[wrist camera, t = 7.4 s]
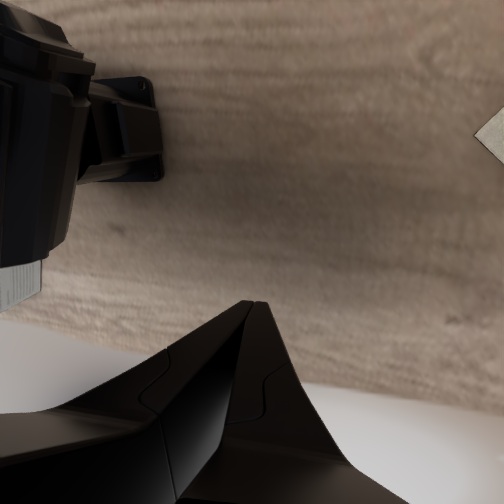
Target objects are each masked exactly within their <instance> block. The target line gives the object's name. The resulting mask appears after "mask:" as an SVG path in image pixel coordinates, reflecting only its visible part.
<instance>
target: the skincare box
mask: <svg viewBox="0 0 504 504" xmlns="http://www.w3.org/2000/svg"><path fill="white" fill-rule="evenodd" d="M40 267H41V260H39V261H36V262H33V263H30V264H26V265H20V266H15V267H9V268H3V269H0V313H2V312H4V311H5V310H7V309H9V308H11V307H13V306H14V305H16V304H18V303H20V302H22V301H23V300H25V299H27V298H29V297H31V296H32V295H34V294H36V293H38V292H39V291H40Z"/></svg>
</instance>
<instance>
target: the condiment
mask: <svg viewBox="0 0 504 504" xmlns="http://www.w3.org/2000/svg"><path fill="white" fill-rule="evenodd" d="M474 136H475V137H476V138H477V139H478V140H479V141H481V142H482V143H483V144H484V145H485V146H486V147H487V148H488V149H489V150H490V151H491V152H492V153H493V154H494V155H495V156H496V157H497V158H498V159H499V160H500V161H501V162H502V163H503V164H504V107H503V108H502V109H501V110H500V111H499V112H498V113H497V114H496V115H495V116H494V117H493V118H491V119H490V120H489V121H488V122H487V123H486V124H485V125H484V126H483V127H482V128H481V129H480V130H479V131H478V132H477V133H476V134H475V135H474Z"/></svg>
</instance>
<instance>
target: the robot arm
mask: <svg viewBox="0 0 504 504" xmlns="http://www.w3.org/2000/svg"><path fill="white" fill-rule="evenodd" d="M95 66H96V63H95V62H93V61H91V60H89V59H87V58H85V57H84V53H82V52H81V51H79V50H77V49H75V48H73V47H72V46H71V45H69V43H68V41H67V39H66V37H65V35H64V33H63V31H62V28H61V27H60V26H58V25H56V24H54V23H52V22H50V21H48V20H46V19H44V18H42V17H39V16H37V15H35V14H33V13H31V12H28V11H26V10H24V9H22V8H19V7H17V6H15V5H12V4H10V3H7V2H5V1H2V0H0V269H3V268H9V267H15V266H20V265H26V264H30V263H33V262H36V261H39V260H42V259H45V258H47V257H48V256H49V251H50V250H53V249H54V248H55V247H56V246H58V245H59V244H60V243H62V242H63V241H64V240H65V237H66V234H67V232H68V227H69V222H70V216H71V211H72V205H73V200H74V194H75V188H76V185H79V184H85V183H90V182H156V181H160V180H162V179H163V177H164V170H163V162H162V155H161V153H162V151H163V146H162V139H161V131H160V124H159V116H158V111H157V110H156V109H155V103H154V96H153V89H152V84H151V82H150V80H149V79H147V78H145V77H142V76H137V77H125V78H114V79H102V80H91V75H94V71H95ZM143 82H144V83H145V89H142V87H141V85H142V83H143ZM155 171H157V172H158V177H156V176H155V174H154V172H155ZM0 504H409V503H408V502H406V501H405V500H403V499H402V498H400V497H399V496H397V495H395V494H394V493H392V492H391V491H389V490H388V489H386V488H385V487H383V486H382V485H380V484H378V483H377V482H376V481H374V480H372V479H371V478H369V477H368V476H366V475H365V474H363V473H362V472H360V471H359V470H357V469H356V468H355V467H354V466H353V465H352V464H351V463H350V462H349V461H348V460H347V459H346V457H345V456H344V455H343V453H342V452H341V450H340V449H339V447H338V446H337V445H336V443H335V441H334V440H333V438H332V436H331V434H330V433H329V431H328V429H327V428H326V426H325V424H324V423H323V421H322V420H321V418H320V417H319V415H318V413H317V411H316V410H315V408H314V406H313V405H312V403H311V401H310V400H309V398H308V396H307V394H306V392H305V391H304V389H303V387H302V385H301V383H300V381H299V378H298V376H297V374H296V372H295V369H294V367H293V364H292V363H291V360H290V357H289V355H288V352H287V350H286V347H285V345H284V342H283V340H282V337H281V335H280V332H279V329H278V327H277V324H276V322H275V319H274V317H273V314H272V312H271V309H270V307H269V304H268V303H267V302H261V301H256V302H255V303H254V301H247V300H242V301H240V302H238V303H237V304H235V305H234V306H232V307H230V308H229V309H227V310H226V311H224V312H222V313H221V314H219V315H218V316H216V317H214V318H213V319H211V320H210V321H208V322H206V323H205V324H203V325H202V326H200V327H198V328H197V329H195V330H194V331H192V332H190V333H189V334H187V335H186V336H184V337H182V338H181V339H179V340H178V341H176V342H174V343H173V344H171V345H170V346H168V347H167V349H166V348H165V349H163V350H162V351H160V352H158V353H157V354H155V355H153V356H152V357H150V358H148V359H147V360H145V361H143V362H142V363H140V364H138V365H137V366H135V367H133V368H131V369H129V370H128V371H126V372H124V373H122V374H120V375H118V376H116V377H115V378H112V379H110V380H109V381H107V382H105V383H103V384H101V385H99V386H97V387H95V388H93V389H91V390H89V391H88V392H86V393H84V394H82V395H80V396H78V397H76V398H74V399H73V400H70V401H68V402H66V403H64V404H62V405H59V406H57V407H54V408H51V409H47V410H43V411H37V412H30V413H9V414H8V413H7V414H0Z"/></svg>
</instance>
